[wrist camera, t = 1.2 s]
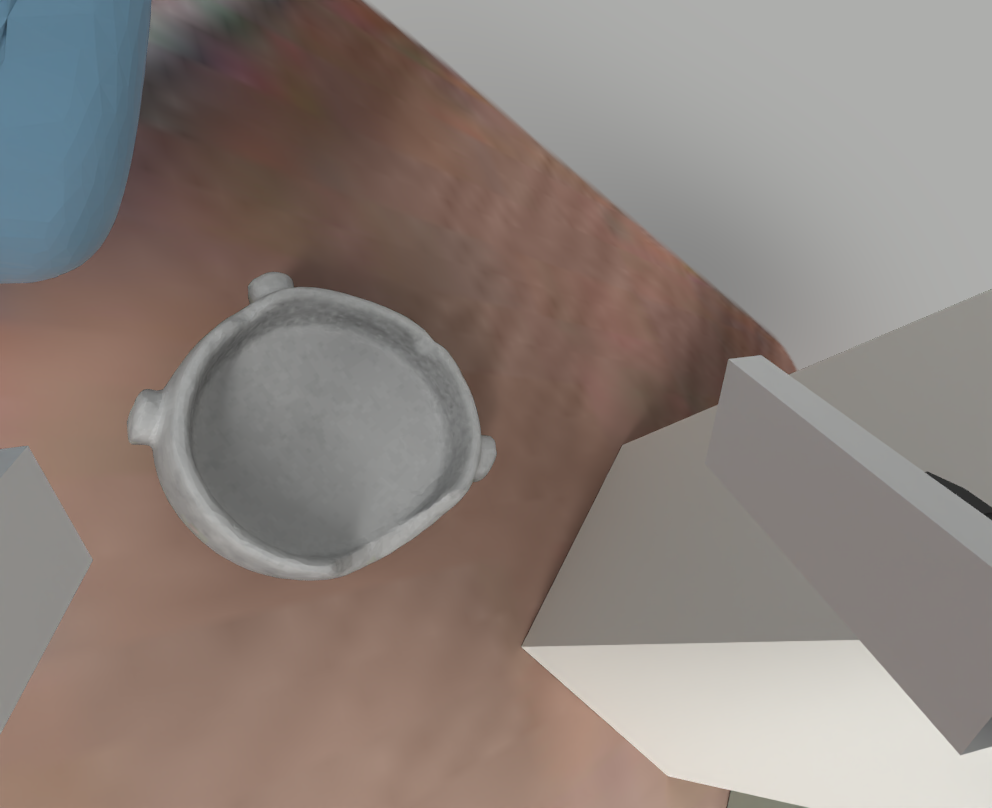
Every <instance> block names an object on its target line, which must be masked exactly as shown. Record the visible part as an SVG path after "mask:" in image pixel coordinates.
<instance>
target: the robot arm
mask: <svg viewBox="0 0 992 808" xmlns="http://www.w3.org/2000/svg"><path fill="white" fill-rule="evenodd" d="M150 17H151V0H0V284H3V283H31V282H37V281H42V280H46V279H51V278H55V277H58V275H61V274H64V273H67V272H69V271H71V270H73V269H75V268H77V267H79V266H80V265H82V264H83V263H85V262H86V261H87V260H88V259H90V258H91V257H92V256H93V255H94V254H95V252H96V251H97V250H98V249H99V248H100V247H101V245H102V244H103V242H104V241H105V239H106V238H107V236H108V234H109V232H110V230H111V228H112V226H113V224H114V222H115V219H116V217H117V214H118V211H119V208H120V204H121V201H122V198H123V195H124V191H125V187H126V183H127V179H128V175H129V170H130V165H131V161H132V156H133V151H134V145H135V139H136V133H137V127H138V121H139V115H140V107H141V99H142V91H143V83H144V75H145V67H146V57H147V47H148V38H149V28H150ZM705 464H706V465H707V467H708V468H709V469H710V470H711V471H712V472H713V473H714V475H715V476H716V477H717V478H718V479H719V480H720V481H721V483H722V484H723V485H724V486H725V487H726V488H727V489H728V491H729V492H730V493H731V494H732V495H733V496H734V497H735V499H736V500H737V501H738V502H739V503H740V504H741V505H742V506H743V508H744V509H745V510H746V511H747V512H748V513H749V514H750V516H751V517H752V518H753V519H754V520H755V521H756V522H757V524H758V525H759V526H760V527H761V528H762V529H763V530H764V532H765V533H766V534H767V535H768V536H769V537H770V538H771V540H772V541H773V542H774V543H775V544H776V545H777V546H778V548H779V549H780V550H781V551H782V552H783V553H784V554H785V556H786V557H787V558H788V559H789V560H790V561H791V562H792V564H793V565H794V566H795V567H796V568H797V569H798V570H799V572H800V573H801V574H802V575H803V576H804V577H805V578H806V580H807V581H808V582H809V583H810V584H811V585H812V586H813V588H814V589H815V590H816V591H817V592H818V593H819V594H820V596H821V597H822V598H823V599H824V600H825V601H826V602H827V604H828V605H829V606H830V607H831V608H832V609H833V610H834V612H835V613H836V614H837V615H838V616H839V617H840V618H841V620H842V621H843V622H844V623H845V624H846V625H847V626H848V628H849V629H850V630H851V631H852V632H853V633H854V634H855V636H856V637H857V638H858V639H859V640H860V641H861V642H862V644H863V645H864V646H865V647H866V648H867V649H868V650H869V652H870V653H871V654H872V655H873V656H874V657H875V658H876V660H877V661H878V662H879V663H880V664H881V665H882V666H883V668H884V669H885V670H886V671H887V672H888V673H889V674H890V676H891V677H892V678H893V679H894V680H895V681H896V682H897V684H898V685H899V686H900V687H901V688H902V689H903V690H904V692H905V693H906V694H907V695H908V696H909V697H910V698H911V700H912V701H913V702H914V703H915V704H916V705H917V706H918V708H919V709H920V710H921V711H922V712H923V713H924V714H925V716H926V717H927V718H928V719H929V720H930V721H931V722H932V724H933V725H934V726H935V727H936V728H937V729H938V730H939V732H940V733H941V734H942V735H943V736H944V737H945V738H946V740H947V741H948V742H949V743H950V744H951V745H952V746H953V748H954V749H955V750H956V751H957V752H958V753H959V754H960V755H963V754H967V753H971V752H974V751H978V750H981V749H985V748H989V747H992V507H991V506H989V505H988V504H986V503H985V502H984V501H982V500H981V499H979V498H978V497H976V496H975V495H974V494H972V493H971V492H969V491H968V490H966V489H965V488H963V487H960V486H958V485H956V484H954V483H952V482H950V481H947V480H945V479H943V478H941V477H939V476H937V475H934V474H932V473H930V472H928V471H927V472H924V471H922V470H921V469H919V468H918V467H917V466H915V465H914V464H912V463H911V462H910V461H908V460H907V459H905V458H904V457H903V456H901V455H900V454H898V453H897V452H896V451H894V450H893V449H891V448H890V447H889V446H887V445H886V444H884V443H883V442H882V441H880V440H879V439H877V438H876V437H875V436H873V435H872V434H871V433H869V432H868V431H866V430H865V429H864V428H862V427H861V426H859V425H858V424H857V423H855V422H854V421H852V420H851V419H850V418H848V417H847V416H845V415H844V414H843V413H841V412H840V411H838V410H837V409H836V408H834V407H833V406H831V405H830V404H829V403H827V402H826V401H824V400H823V399H822V398H820V397H819V396H817V395H816V394H815V393H813V392H812V391H810V390H809V389H808V388H806V387H805V386H804V385H802V384H801V383H799V382H798V381H797V380H795V379H794V378H792V377H791V376H790V375H788V374H787V373H785V372H784V371H783V370H781V369H780V368H778V367H777V366H776V365H774V364H773V363H771V362H770V361H769V360H767V359H766V358H764V357H763V356H762V355H758V356H750V357H742V358H734V359H728V363H727V368H726V372H725V376H724V381H723V385H722V390H721V394H720V399H719V403H718V407H717V412H716V416H715V421H714V425H713V430H712V434H711V438H710V443H709V447H708V452H707V456H706V461H705ZM92 561H93V559H92V558H91V556H90V554H89V552H88V551H87V549H86V547H85V545H84V543H83V542H82V540H81V538H80V536H79V535H78V533H77V531H76V529H75V528H74V526H73V524H72V522H71V521H70V519H69V517H68V515H67V514H66V512H65V510H64V508H63V507H62V505H61V503H60V501H59V499H58V498H57V496H56V494H55V492H54V491H53V489H52V487H51V485H50V484H49V482H48V480H47V478H46V477H45V475H44V473H43V471H42V470H41V468H40V466H39V464H38V463H37V461H36V459H35V457H34V455H33V454H32V452H31V450H30V448H29V447H28V446H22V447H14V448H6V449H0V734H1V732H2V730H3V728H4V726H5V725H6V723H7V721H8V719H9V717H10V715H11V713H12V711H13V709H14V708H15V706H16V704H17V702H18V700H19V698H20V696H21V694H22V693H23V691H24V689H25V687H26V685H27V683H28V681H29V679H30V677H31V676H32V674H33V672H34V670H35V668H36V666H37V664H38V662H39V661H40V659H41V657H42V655H43V653H44V651H45V649H46V647H47V645H48V644H49V642H50V640H51V638H52V636H53V634H54V632H55V630H56V629H57V627H58V625H59V623H60V621H61V619H62V617H63V615H64V613H65V612H66V610H67V608H68V606H69V604H70V602H71V600H72V598H73V596H74V595H75V593H76V591H77V589H78V587H79V585H80V583H81V581H82V580H83V578H84V576H85V574H86V572H87V570H88V568H89V566H90V564H91V563H92Z"/></svg>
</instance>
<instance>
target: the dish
mask: <svg viewBox="0 0 992 808" xmlns="http://www.w3.org/2000/svg"><path fill="white" fill-rule="evenodd" d="M248 299H249V302H250V305H248V306H247V307H245V308H244V309H242V310H241V311H239V312H237V313H236V314H234V315H232V316H230V317H229V318H227V319H225V320H224V321H223V322H221V323H220V324H218V325H217V326H216V327H215V328H214V329H213V330H212V331H210V332H209V333H208V334H207V335H206V336H205V337H204V338H203V339H202V340H200V341H199V342H198V343H197V345H196V346H195V347H194V348H193V349H192V350H191V351H190V352H189V354H188V355H187V356H186V357H185V359H184V360H183V361H182V363H181V364H180V366H179V367H178V368H177V370H176V371H175V373H174V374H173V376H172V377H171V379H170V380H169V382H168V383H167V385H166V386H165V387H164V389H162V390H158V391H156V390H151V389H146V390H143V391H142V392H140V394H139V395H138V396H137V398H136V400H135V403H134V405H133V407H132V409H131V411H130V414H129V417H128V421H127V428H128V439H129V442H130V443H131V444H139V445H148V446H151V448H152V449H153V456H154V462H155V467H156V471H157V475H158V478H159V481H160V484H161V486H162V489H163V491H164V493H165V495H166V497H167V499H168V501H169V503H170V504H171V506H172V507H173V509H174V510H175V512H176V513H177V515H178V516H179V518H180V519H181V520H182V521H183V523H184V524H185V525H186V526H187V527H188V528H189V529H190V530H191V531H192V532H193V534H195V535H196V536H197V537H198V538H199V539H200V540H201V541H202V542H203V543H205V544H206V545H207V546H208V547H210V548H211V549H212V550H213V551H215V552H216V553H217V554H219V555H221V556H222V557H224V558H226V559H227V560H229V561H231V562H233V563H235V564H237V565H239V566H241V567H243V568H245V569H248V570H250V571H253V572H257V573H260V574H264V575H268V576H272V577H276V578H283V579H293V580H327V579H333V578H338V577H342V576H345V575H347V574H350V573H352V572H354V571H356V570H359V569H361V568H363V567H365V566H367V565H369V564H371V563H373V562H375V561H377V560H379V559H381V558H383V557H385V556H387V555H389V554H390V553H392V552H393V551H395V550H396V549H398V548H399V547H401V546H403V545H404V544H406V543H407V542H409V541H410V540H412V539H413V538H415V537H416V536H417V535H419V534H420V533H421V532H422V531H424V530H425V529H426V528H428V527H429V526H431V525H432V524H433V523H434V522H436V521H437V520H438V519H439V518H440V517H441V516H442V515H444V514H445V513H446V512H447V511H448V510H450V509H451V508H452V507H453V506H455V505H456V504H457V503H458V502H459V501H460V500H461V499H462V498H463V496H464V495H465V494H466V493H467V491H468V490H469V488H470V486H471V484H472V482H477V481H480V480H481V479H483V478H484V477H485V476H486V475H487V473H488V472H489V470H490V469H491V467H492V465H493V463H494V461H495V458H496V455H497V452H496V445H495V441H494V439H493V438H492V437H491V436H485V435H481V429H480V423H479V418H478V413H477V409H476V406H475V402H474V399H473V396H472V394H471V391H470V389H469V387H468V385H467V383H466V381H465V380H464V378H463V376H462V374H461V372H460V369H459V367H458V366H457V364H456V363H455V361H454V360H453V358H452V357H451V355H450V354H449V352H448V351H447V350H446V349H445V348H443V347H442V346H441V345H440V344H438V343H436V342H435V341H434V340H433V339H432V338H431V337H430V336H429V334H428V333H427V332H426V331H425V330H424V329H423V328H421V327H420V326H419V325H418V324H416V323H415V322H413V321H412V320H410V319H409V318H407V317H405V316H404V315H402V314H400V313H398V312H395V311H393V310H391V309H389V308H387V307H384V306H381V305H379V304H376V303H374V302H371V301H368V300H365V299H361V298H358V297H355V296H352V295H349V294H345V293H341V292H337V291H332V290H328V289H322V288H314V287H294V285H293V281H292V279H291V278H290V277H289V276H288V275H286V274H283V273H279V272H269V273H265V274H263V275H261V276H259V277H257V278H255V279H253V281H252V282H251V283H250V284H249V286H248Z"/></svg>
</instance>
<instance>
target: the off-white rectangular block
mask: <svg viewBox="0 0 992 808" xmlns="http://www.w3.org/2000/svg"><path fill="white" fill-rule="evenodd" d="M789 375H790V376H791V377H792V378H794V379H795V380H797V381H798V382H799V383H801V384H802V385H804V386H805V387H806V388H808V389H809V390H810V391H812V392H813V393H815V394H816V395H817V396H819V397H820V398H822V399H823V400H824V401H826V402H827V403H829V404H830V405H831V406H833V407H834V408H836V409H837V410H838V411H840V412H841V413H843V414H844V415H845V416H847V417H848V418H850V419H851V420H852V421H854V422H855V423H857V424H858V425H859V426H861V427H862V428H864V429H865V430H866V431H868V432H869V433H871V434H872V435H873V436H875V437H876V438H877V439H879V440H880V441H882V442H883V443H884V444H886V445H887V446H889V447H890V448H891V449H893V450H894V451H896V452H897V453H898V454H900V455H901V456H903V457H904V458H905V459H907V460H908V461H910V462H911V463H912V464H914V465H915V466H917V467H918V468H919V469H921V470H922V471H924V472H927V471H928V472H930V473H932V474H934V475H937V476H939V477H941V478H943V479H945V480H947V481H950V482H952V483H954V484H956V485H958V486H960V487H963V488H965V489H966V490H968V491H969V492H971V493H972V494H974V495H975V496H976V497H978V498H979V499H981V500H982V501H984V502H985V503H986V504H988V505H989V506H991V507H992V289H990V290H988V291H985V292H983V293H981V294H978V295H976V296H974V297H971V298H969V299H967V300H964V301H962V302H959V303H957V304H955V305H953V306H950V307H948V308H945V309H943V310H941V311H938V312H936V313H934V314H931V315H929V316H926V317H924V318H922V319H919V320H917V321H915V322H912V323H910V324H907V325H905V326H903V327H900V328H898V329H896V330H893V331H891V332H889V333H886V334H884V335H881V336H879V337H877V338H874V339H872V340H870V341H867V342H865V343H863V344H860V345H858V346H855V347H853V348H851V349H849V350H846V351H844V352H841V353H839V354H837V355H834V356H832V357H829V358H827V359H825V360H822V361H820V362H818V363H815V364H813V365H811V366H808V367H806V368H803V369H801V370H799V371H796V372H794V373H792V374H789ZM717 407H718V405H716V406H714V407H711V408H709V409H706V410H704V411H702V412H699V413H697V414H695V415H692V416H690V417H688V418H685V419H683V420H680V421H678V422H676V423H673V424H671V425H669V426H666V427H664V428H662V429H659V430H657V431H654V432H652V433H650V434H647V435H645V436H643V437H640V438H638V439H636V440H633V441H631V442H628V443H626V444H624V445H622V447H621V449H620V451H619V453H618V455H617V457H616V459H615V461H614V463H613V465H612V467H611V469H610V471H609V473H608V475H607V477H606V479H605V481H604V483H603V485H602V487H601V489H600V491H599V493H598V495H597V497H596V499H595V501H594V503H593V505H592V507H591V509H590V511H589V513H588V515H587V517H586V519H585V521H584V523H583V525H582V527H581V529H580V531H579V533H578V535H577V537H576V539H575V541H574V543H573V545H572V547H571V549H570V551H569V553H568V555H567V557H566V559H565V561H564V563H563V565H562V566H561V568H560V570H559V572H558V574H557V576H556V578H555V580H554V582H553V584H552V586H551V588H550V590H549V592H548V594H547V596H546V598H545V600H544V602H543V604H542V606H541V608H540V610H539V612H538V614H537V616H536V618H535V620H534V622H533V624H532V626H531V628H530V630H529V632H528V634H527V636H526V638H525V640H524V642H523V644H522V646H521V647H522V648H523V649H524V650H525V651H526V652H528V653H529V654H530V655H531V656H532V657H533V658H534V659H536V660H537V661H538V662H539V663H540V664H541V665H542V666H543V667H545V668H546V669H547V670H548V671H549V672H550V673H551V674H553V675H554V676H555V677H556V678H557V679H558V680H559V681H560V682H562V683H563V684H564V685H565V686H566V687H567V688H568V689H570V690H571V691H572V692H573V693H574V694H575V695H576V696H577V697H579V698H580V699H581V700H582V701H583V702H584V703H585V704H587V705H588V706H589V707H590V708H591V709H592V710H593V711H594V712H596V713H597V714H598V715H599V716H600V717H601V718H602V719H604V720H605V721H606V722H607V723H608V724H609V725H610V726H611V727H613V728H614V729H615V730H616V731H617V732H618V733H619V734H621V735H622V736H623V737H624V738H625V739H626V740H627V741H628V742H630V743H631V744H632V745H633V746H634V747H635V748H636V749H638V750H639V751H640V752H641V753H642V754H643V755H644V756H646V757H647V758H648V759H649V760H650V761H651V762H652V763H653V764H655V765H656V766H657V767H658V768H659V769H660V770H661V771H663V772H664V773H665V774H666V775H667V776H669V777H674V778H678V779H683V780H687V781H692V782H696V783H701V784H705V785H710V786H714V787H719V788H723V789H728V790H732V791H736V792H741V793H745V794H750V795H754V796H759V797H763V798H768V799H772V800H777V801H781V802H786V803H790V804H795V805H799V806H804V807H808V808H992V747H989V748H985V749H981V750H978V751H974V752H971V753H967V754H963V755H960V754H959V753H958V752H957V751H956V750H955V749H954V748H953V746H952V745H951V744H950V743H949V742H948V741H947V740H946V738H945V737H944V736H943V735H942V734H941V733H940V732H939V730H938V729H937V728H936V727H935V726H934V725H933V724H932V722H931V721H930V720H929V719H928V718H927V717H926V716H925V714H924V713H923V712H922V711H921V710H920V709H919V708H918V706H917V705H916V704H915V703H914V702H913V701H912V700H911V698H910V697H909V696H908V695H907V694H906V693H905V692H904V690H903V689H902V688H901V687H900V686H899V685H898V684H897V682H896V681H895V680H894V679H893V678H892V677H891V676H890V674H889V673H888V672H887V671H886V670H885V669H884V668H883V666H882V665H881V664H880V663H879V662H878V661H877V660H876V658H875V657H874V656H873V655H872V654H871V653H870V652H869V650H868V649H867V648H866V647H865V646H864V645H863V644H862V642H861V641H860V640H859V639H858V638H857V637H856V636H855V634H854V633H853V632H852V631H851V630H850V629H849V628H848V626H847V625H846V624H845V623H844V622H843V621H842V620H841V618H840V617H839V616H838V615H837V614H836V613H835V612H834V610H833V609H832V608H831V607H830V606H829V605H828V604H827V602H826V601H825V600H824V599H823V598H822V597H821V596H820V594H819V593H818V592H817V591H816V590H815V589H814V588H813V586H812V585H811V584H810V583H809V582H808V581H807V580H806V578H805V577H804V576H803V575H802V574H801V573H800V572H799V570H798V569H797V568H796V567H795V566H794V565H793V564H792V562H791V561H790V560H789V559H788V558H787V557H786V556H785V554H784V553H783V552H782V551H781V550H780V549H779V548H778V546H777V545H776V544H775V543H774V542H773V541H772V540H771V538H770V537H769V536H768V535H767V534H766V533H765V532H764V530H763V529H762V528H761V527H760V526H759V525H758V524H757V522H756V521H755V520H754V519H753V518H752V517H751V516H750V514H749V513H748V512H747V511H746V510H745V509H744V508H743V506H742V505H741V504H740V503H739V502H738V501H737V500H736V499H735V497H734V496H733V495H732V494H731V493H730V492H729V491H728V489H727V488H726V487H725V486H724V485H723V484H722V483H721V481H720V480H719V479H718V478H717V477H716V476H715V475H714V473H713V472H712V471H711V470H710V469H709V468H708V467H707V465H706V464H705V461H706V456H707V452H708V447H709V443H710V438H711V434H712V430H713V425H714V421H715V416H716V412H717Z"/></svg>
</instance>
